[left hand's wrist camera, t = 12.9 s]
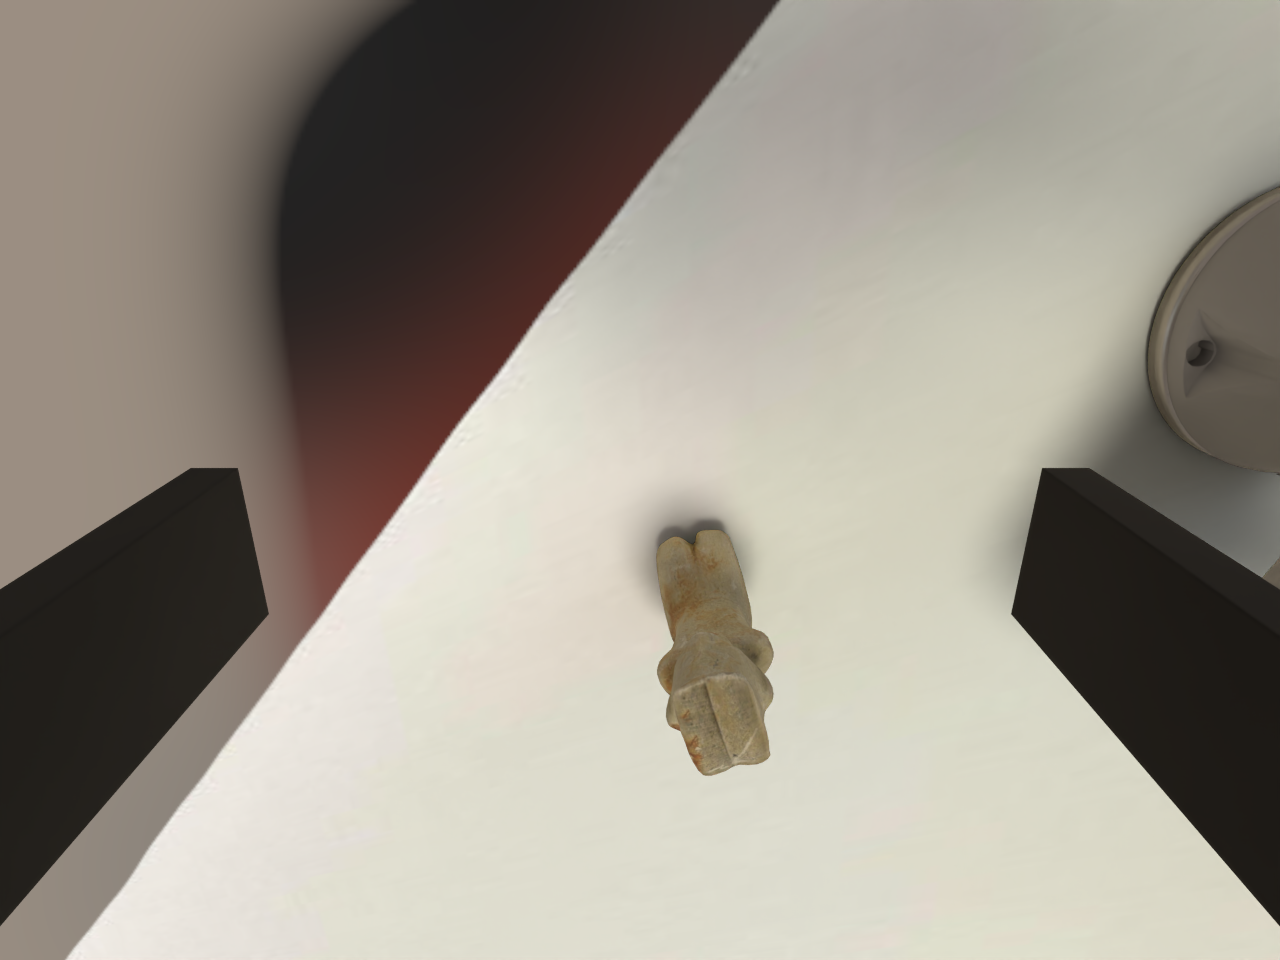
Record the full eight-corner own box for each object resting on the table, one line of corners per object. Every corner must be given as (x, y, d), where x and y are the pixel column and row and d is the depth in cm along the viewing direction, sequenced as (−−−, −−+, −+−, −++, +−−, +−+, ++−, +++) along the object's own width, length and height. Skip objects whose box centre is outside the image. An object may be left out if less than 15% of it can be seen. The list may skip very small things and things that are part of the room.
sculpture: (739, 514, 44) (785, 668, 30) (758, 617, 47) (809, 803, 33) (642, 533, 44) (643, 693, 31) (666, 634, 47) (677, 824, 33)
